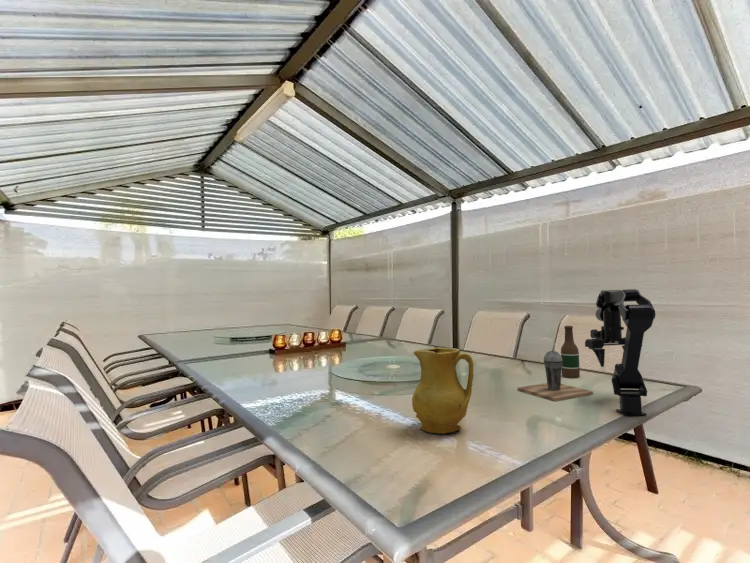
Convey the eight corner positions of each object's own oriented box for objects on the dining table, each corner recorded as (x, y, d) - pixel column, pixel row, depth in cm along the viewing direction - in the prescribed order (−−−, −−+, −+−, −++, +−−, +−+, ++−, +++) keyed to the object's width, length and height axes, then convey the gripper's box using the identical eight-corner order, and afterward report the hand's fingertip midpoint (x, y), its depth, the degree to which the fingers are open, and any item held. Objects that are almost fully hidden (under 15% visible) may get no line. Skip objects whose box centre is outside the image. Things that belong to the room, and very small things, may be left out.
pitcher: (431, 417, 144) (428, 344, 144) (481, 426, 132) (478, 347, 132) (402, 431, 130) (398, 351, 131) (455, 443, 118) (451, 355, 119)
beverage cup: (540, 388, 172) (538, 339, 173) (555, 386, 175) (553, 338, 175) (553, 392, 165) (551, 341, 166) (568, 390, 168) (565, 340, 168)
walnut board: (593, 394, 165) (592, 391, 165) (555, 401, 157) (555, 398, 157) (553, 384, 183) (553, 381, 183) (517, 390, 175) (517, 387, 175)
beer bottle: (558, 376, 199) (555, 325, 199) (569, 374, 202) (567, 324, 203) (572, 379, 192) (569, 327, 192) (583, 377, 195) (581, 325, 196)
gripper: (622, 321, 163) (624, 361, 163) (576, 323, 162) (577, 363, 162) (642, 323, 152) (644, 366, 152) (592, 325, 151) (594, 368, 151)
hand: (614, 366), depth 154 cm, fingers open, 9 cm apart
